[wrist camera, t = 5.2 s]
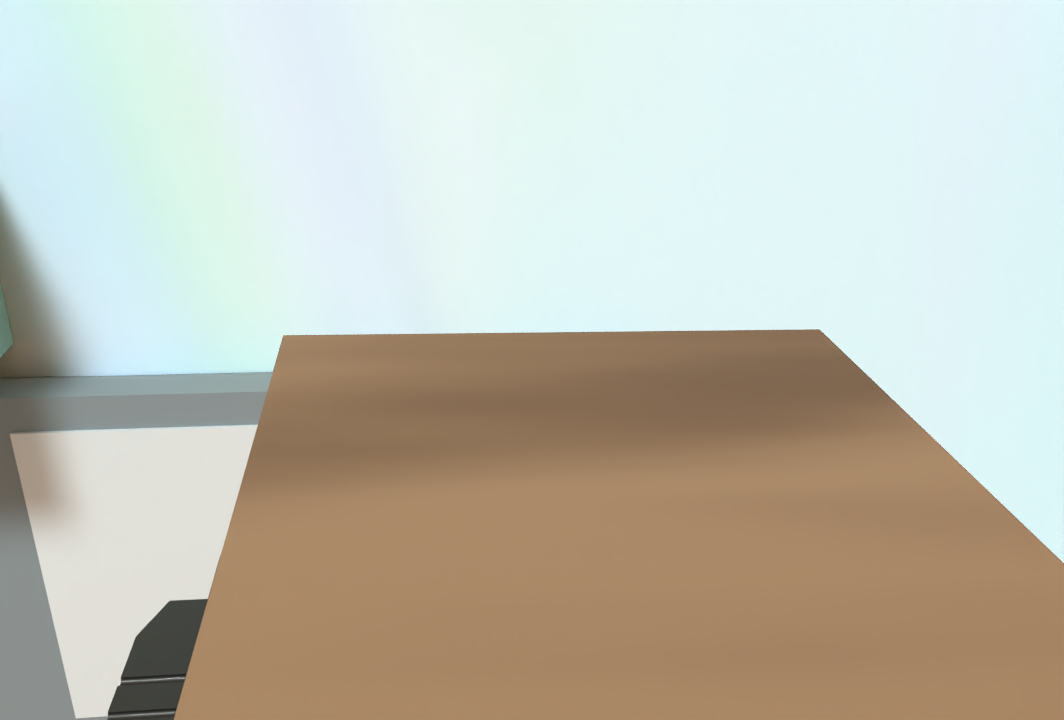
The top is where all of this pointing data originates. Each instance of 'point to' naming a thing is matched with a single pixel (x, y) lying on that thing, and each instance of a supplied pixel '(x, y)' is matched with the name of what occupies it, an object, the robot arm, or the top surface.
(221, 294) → the top surface
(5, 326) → the teal block
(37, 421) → the blueprint board
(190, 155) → the top surface
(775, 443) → the walnut block
